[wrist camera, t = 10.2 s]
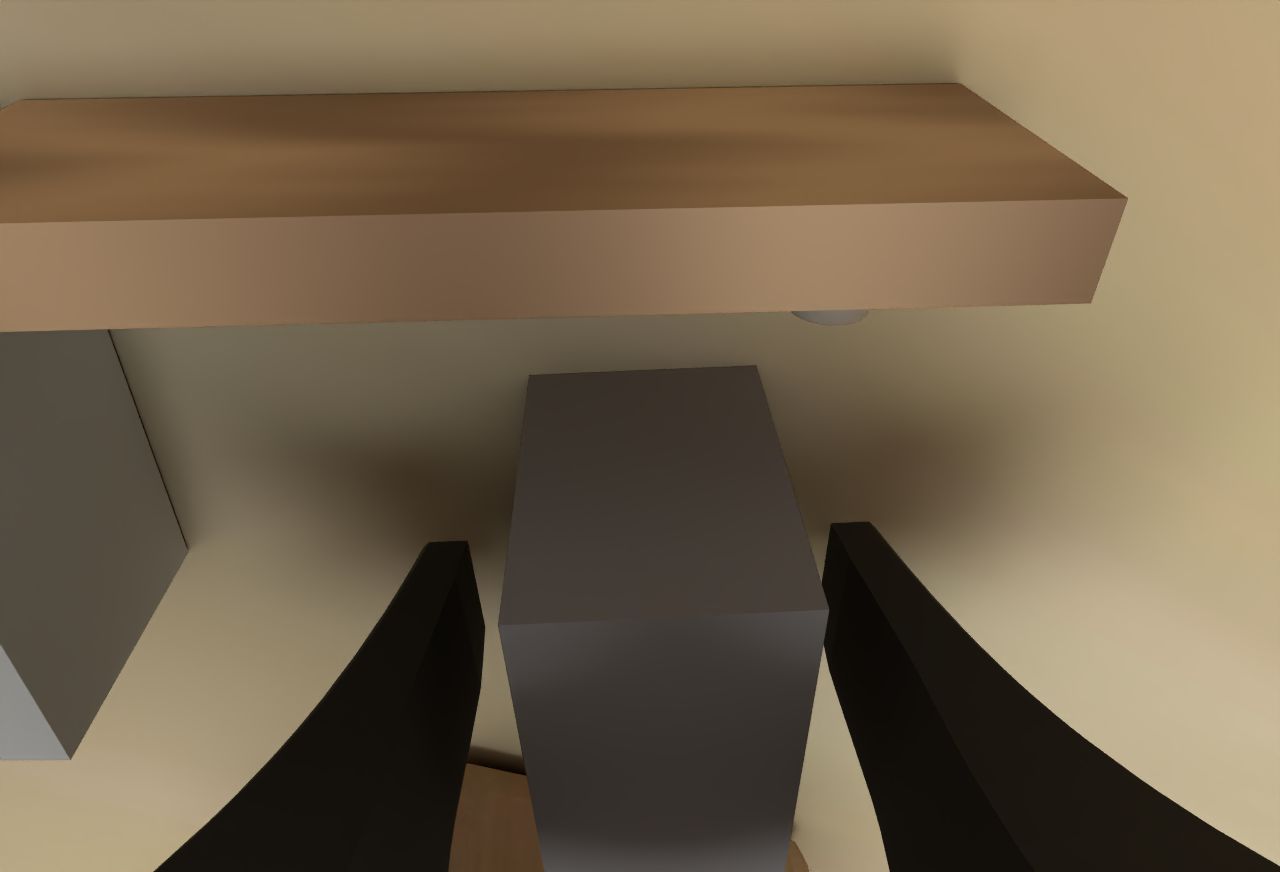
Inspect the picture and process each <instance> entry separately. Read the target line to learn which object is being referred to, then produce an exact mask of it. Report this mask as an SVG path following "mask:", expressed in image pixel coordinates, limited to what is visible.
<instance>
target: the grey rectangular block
mask: <svg viewBox="0 0 1280 872" xmlns="http://www.w3.org/2000/svg"><path fill="white" fill-rule="evenodd" d="M828 614H829V607H828V604H827V600H826V597H825V594H824V590H823V587H822V584H821V580H820V577H819V574H818V570H817V567H816V564H815V560H814V557H813V554H812V550H811V547H810V544H809V540H808V537H807V534H806V530H805V527H804V524H803V520H802V517H801V513H800V510H799V507H798V503H797V500H796V497H795V493H794V490H793V487H792V483H791V480H790V477H789V473H788V470H787V467H786V463H785V460H784V457H783V453H782V450H781V447H780V443H779V440H778V437H777V433H776V430H775V427H774V423H773V420H772V417H771V413H770V410H769V407H768V403H767V400H766V397H765V393H764V390H763V386H762V383H761V380H760V376H759V373H758V370H757V366H756V365H754V366H731V367H707V368H684V369H660V370H637V371H613V372H590V373H567V374H543V375H529V381H528V389H527V397H526V405H525V413H524V421H523V429H522V437H521V445H520V453H519V461H518V469H517V477H516V485H515V493H514V502H513V510H512V518H511V526H510V534H509V542H508V550H507V558H506V566H505V574H504V582H503V590H502V598H501V606H500V614H499V623H498V628H499V633H500V638H501V643H502V649H503V654H504V659H505V665H506V670H507V675H508V681H509V686H510V691H511V696H512V702H513V707H514V712H515V718H516V723H517V728H518V733H519V739H520V744H521V749H522V755H523V760H524V765H525V770H526V776H527V781H528V786H529V792H530V797H531V802H532V808H533V813H534V818H535V823H536V829H537V834H538V839H539V845H540V850H541V855H542V860H543V866H544V871H545V872H785V867H786V861H787V855H788V849H789V843H790V838H791V832H792V826H793V820H794V814H795V808H796V802H797V796H798V790H799V785H800V779H801V773H802V767H803V761H804V755H805V749H806V743H807V738H808V732H809V726H810V720H811V714H812V708H813V702H814V696H815V691H816V685H817V679H818V673H819V667H820V661H821V655H822V649H823V643H824V638H825V632H826V626H827V620H828Z"/></svg>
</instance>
